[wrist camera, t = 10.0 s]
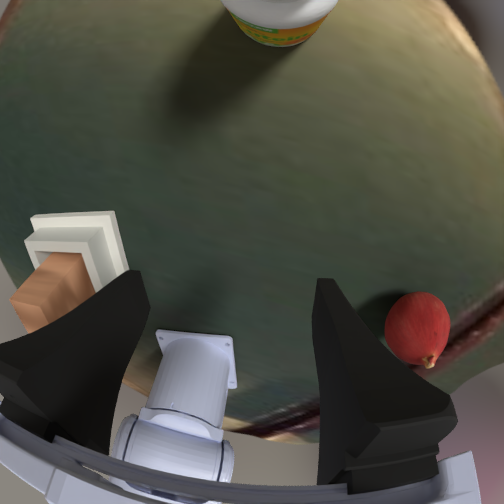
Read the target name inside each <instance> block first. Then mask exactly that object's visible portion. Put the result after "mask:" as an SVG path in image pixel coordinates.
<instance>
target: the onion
mask: <svg viewBox="0 0 504 504" xmlns="http://www.w3.org/2000/svg"><path fill="white" fill-rule="evenodd" d="M449 330H450V318H449V315H448V313H447V310H446V308H445V306H444V304H443V303H442V302H441V301H440V300H439V299H438V298H437V297H435V296H434V295H432V294H430V293H427V292H413V293H409V294H406V295H404V296H403V297H401V298H400V299H399V300H398V301H397V302H396V303H395V304H394V305H393V306H392V308H391V309H390V311H389V313H388V315H387V318H386V321H385V339H386V342H387V344H388V346H389V347H390V348H391V350H392V351H393V352H394V354H395V355H396V356H397V357H398V358H400V359H402V360H404V361H406V362H408V363H411V364H418V365H424V366H425V367H426V368H431V367H433V366H434V365H435V362H436V360H437V358H438V356H439V355H440V354H441V353H442V351H443V349H444V348H445V346H446V343H447V339H448V335H449Z"/></svg>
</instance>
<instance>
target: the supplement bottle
mask: <svg viewBox="0 0 504 504" xmlns="http://www.w3.org/2000/svg"><path fill="white" fill-rule="evenodd" d="M221 2H222V3H223V5H224V6H225V7H226V9H227V10H228V11H229V13H230V14H231V16H232V17H233V18H234V20H235V21H236V23H237V24H238V26H239V27H240V29H241V30H242V31H243V32H244V33H245V34H246V35H247V36H249V37H250V38H252V39H253V40H255V41H257V42H259V43H262V44H265V45H269V46H275V47H286V46H292V45H296V44H299V43H301V42H303V41H305V40H306V39H308V38H309V37H311V36H312V35H313V34H314V33H315V32H316V31H317V29H318V28H319V26H320V25H321V24H322V22H323V21H324V19H325V18H326V17H327V15H328V14H329V13H330V12H331V10H332V9H333V8H334V6H335V5H336V3H337V2H338V0H221Z"/></svg>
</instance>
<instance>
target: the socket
mask: <svg viewBox="0 0 504 504" xmlns="http://www.w3.org/2000/svg"><path fill="white" fill-rule="evenodd" d="M30 219H31V222H32V225H33V228H34V231H35V232H34V233H33V234H31V235H30V236H29V237H28V238H27V239H26V240H25V241H24V242H25V245H26V247H27V250H28V253H29V255H30V258H31V260H32V263H33V265H34V267H35V270H36V269H37V268H38V267H39V266H40V265H41V264H42V263H43V262H44V261H45V260H46V259H47V258H48V256H49V255H50V254H51V253H52V252H70V253H81V254H82V257H83V259H84V262H85V265H86V268H87V271H88V274H89V276H90V279H91V282H92V284H93V287H94V289H95V292H98V291H99V290H100V289H102V288H103V287H104V286H106V285H107V284H108V283H110V282H111V281H112V280H114V279H115V278H116V277H118V276H119V275H121V274H122V273H124V272H125V271H127V270H129V267H128V263H127V260H126V256H125V252H124V249H123V245H122V241H121V237H120V233H119V229H118V225H117V220H116V216H115V212H114V211H98V212H75V213H56V214H40V215H34V216H33V217H32V218H30Z"/></svg>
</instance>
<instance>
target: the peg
mask: <svg viewBox="0 0 504 504" xmlns="http://www.w3.org/2000/svg"><path fill="white" fill-rule="evenodd" d="M95 293H96V292H95V289H94V287H93V284H92V282H91V279H90V276H89V274H88V271H87V268H86V265H85V262H84V259H83V257H82V254H81V253H70V252H52V253H51V254H50V255H49V256H48V258H47V259H46V260H45V261H44V262H43V263H42V264H41V265H40V266H39V267H38V268H37V269H36V270H35V271H34V272H33V273H32V274H31V275H30V277H29V278H28V279H27V280H26V281H25V282H24V283H23V284H22V285H21V286H20V288H19V289H18V290H17V291H16V292H15V293H14V295H13V296H12V297H11V298H10V302H11V304H12V305H13V307H14V309H15V311H16V313H17V315H18V316H19V318H20V320H21V321H22V323H23V325H24V326H25V328H26V330H27V331H28V333H32V332H34V331H36V330H38V329H40V328H42V327H44V326H46V325H48V324H50V323H52V322H53V321H55V320H57V319H59V318H60V317H62V316H64V315H65V314H67V313H68V312H70V311H71V310H73V309H74V308H76V307H77V306H79V305H80V304H81V303H83V302H84V301H86V300H87V299H88V298H90V297H91V296H93V295H94V294H95Z"/></svg>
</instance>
